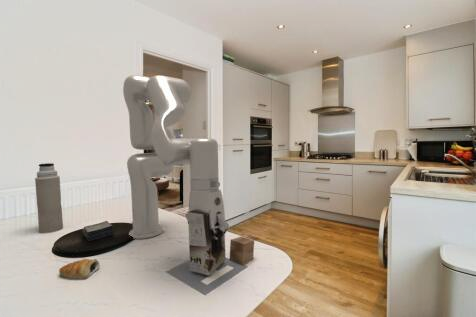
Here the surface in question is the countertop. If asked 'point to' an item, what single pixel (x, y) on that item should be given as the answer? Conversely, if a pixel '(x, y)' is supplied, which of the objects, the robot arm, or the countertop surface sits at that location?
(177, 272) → the letter tile
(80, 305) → the countertop surface
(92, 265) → the pastry
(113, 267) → the countertop surface
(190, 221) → the coffee box
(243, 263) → the walnut block
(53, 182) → the thermos bottle
